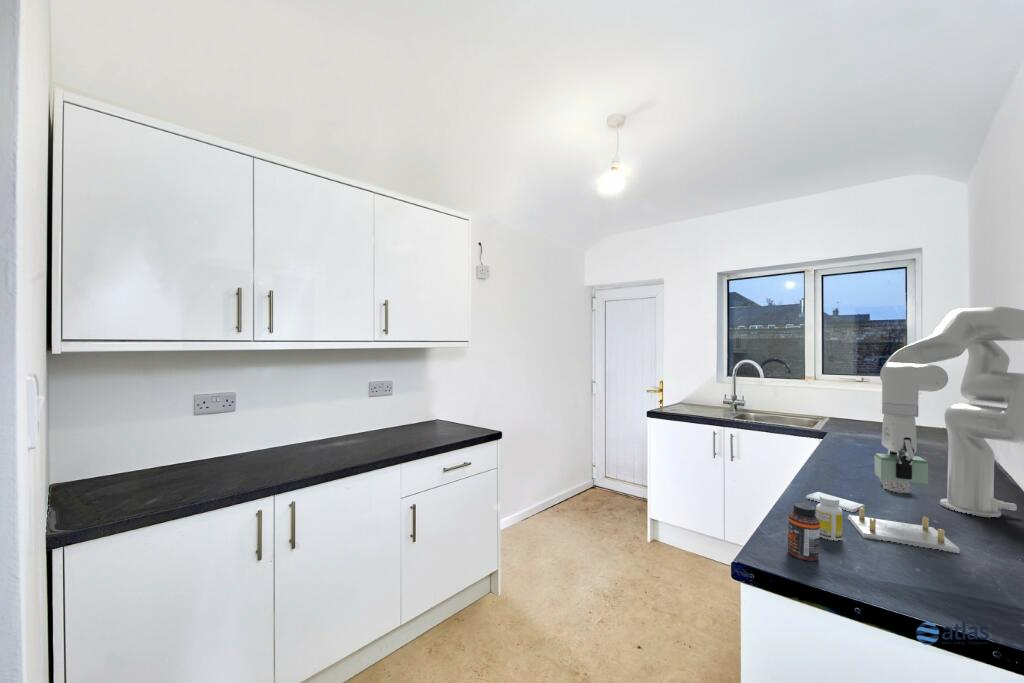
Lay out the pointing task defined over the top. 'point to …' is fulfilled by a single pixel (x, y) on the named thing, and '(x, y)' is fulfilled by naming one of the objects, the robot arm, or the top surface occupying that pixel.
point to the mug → (896, 485)
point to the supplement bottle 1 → (803, 532)
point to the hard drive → (843, 503)
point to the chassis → (902, 532)
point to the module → (887, 468)
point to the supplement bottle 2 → (829, 518)
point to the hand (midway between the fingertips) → (899, 474)
